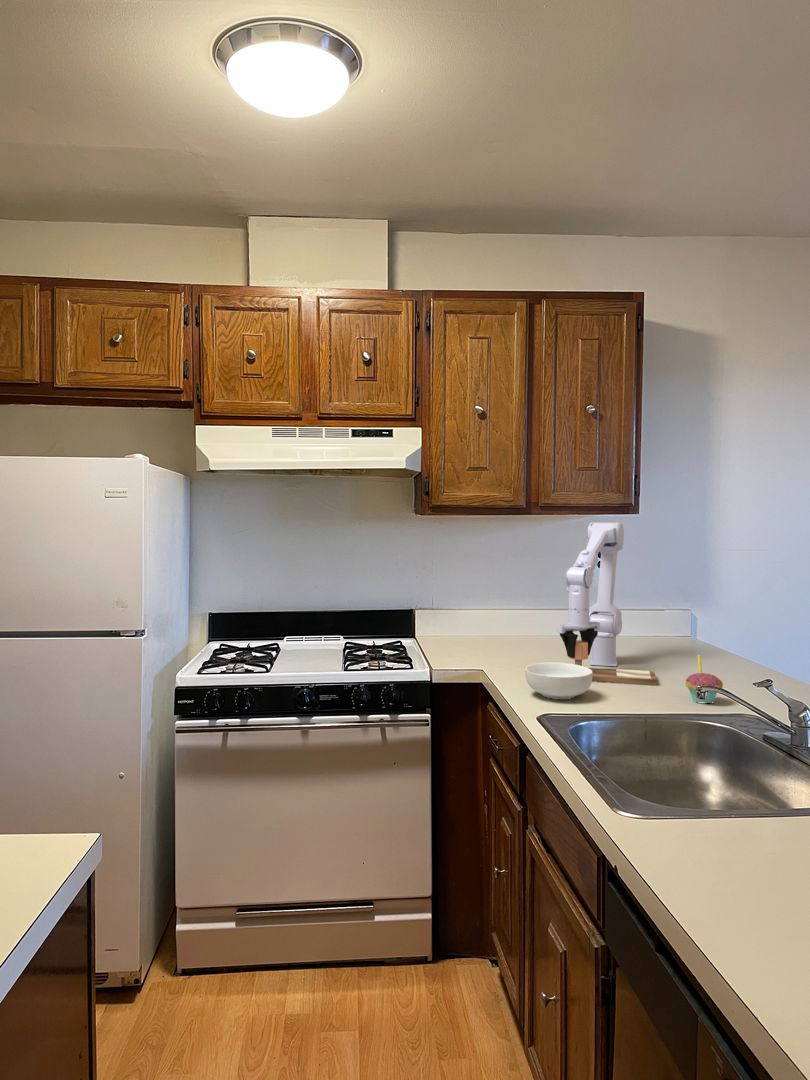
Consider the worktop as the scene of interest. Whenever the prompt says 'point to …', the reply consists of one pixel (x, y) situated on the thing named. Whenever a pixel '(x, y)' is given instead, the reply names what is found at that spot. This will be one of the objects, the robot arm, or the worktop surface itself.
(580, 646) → the cap
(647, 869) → the worktop surface
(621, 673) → the board
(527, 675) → the cereal bowl
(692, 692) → the cupcake
